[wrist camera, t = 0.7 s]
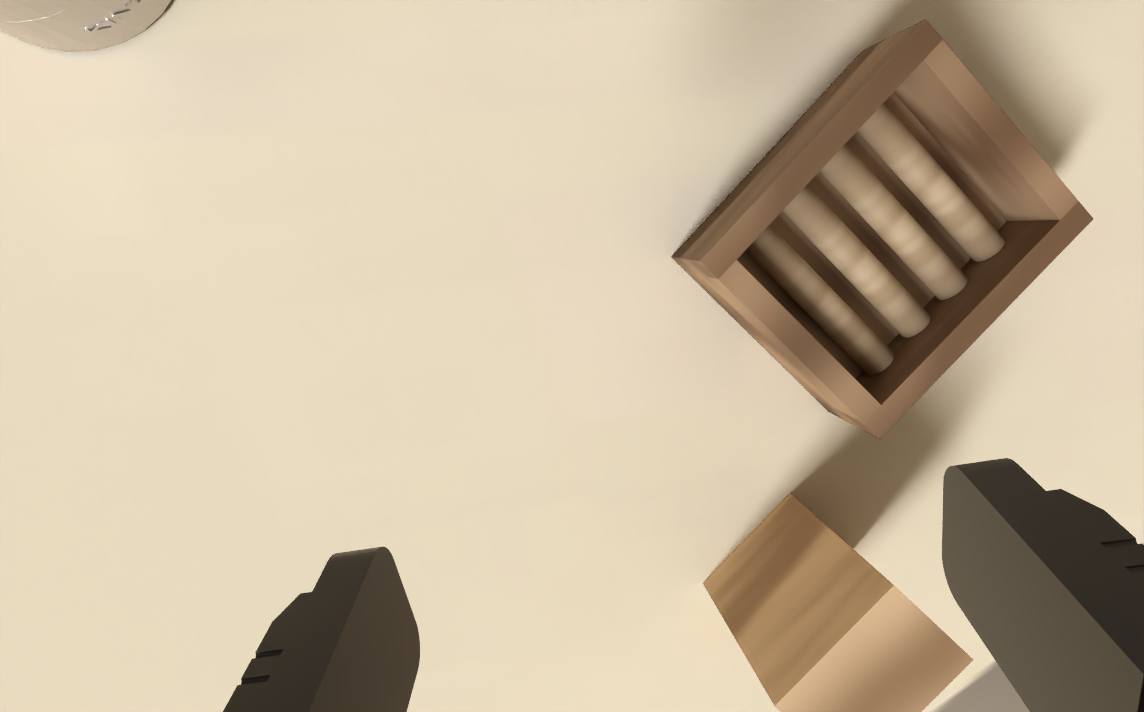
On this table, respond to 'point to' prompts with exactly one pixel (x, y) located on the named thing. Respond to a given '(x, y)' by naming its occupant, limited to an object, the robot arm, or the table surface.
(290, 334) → the table surface
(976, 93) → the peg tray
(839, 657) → the shelf block
